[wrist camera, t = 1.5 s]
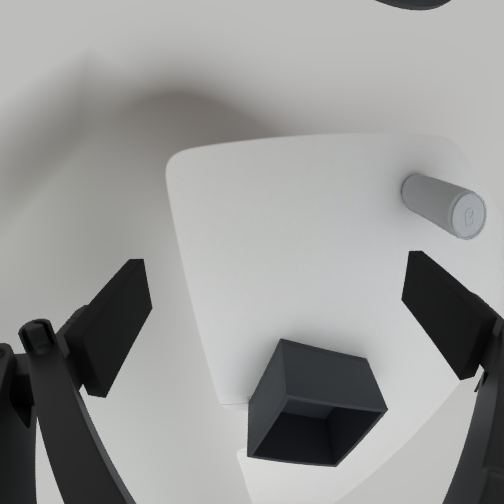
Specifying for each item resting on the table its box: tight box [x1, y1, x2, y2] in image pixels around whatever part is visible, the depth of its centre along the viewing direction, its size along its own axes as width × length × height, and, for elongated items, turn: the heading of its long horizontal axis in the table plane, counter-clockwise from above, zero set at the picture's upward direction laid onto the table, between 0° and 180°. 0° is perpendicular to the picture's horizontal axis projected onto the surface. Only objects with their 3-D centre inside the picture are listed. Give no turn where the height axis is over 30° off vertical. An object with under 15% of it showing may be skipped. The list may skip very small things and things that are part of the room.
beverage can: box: [402, 174, 487, 240], centre depth 30 cm, size 5×5×12 cm
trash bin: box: [247, 339, 388, 467], centre depth 41 cm, size 14×14×11 cm
